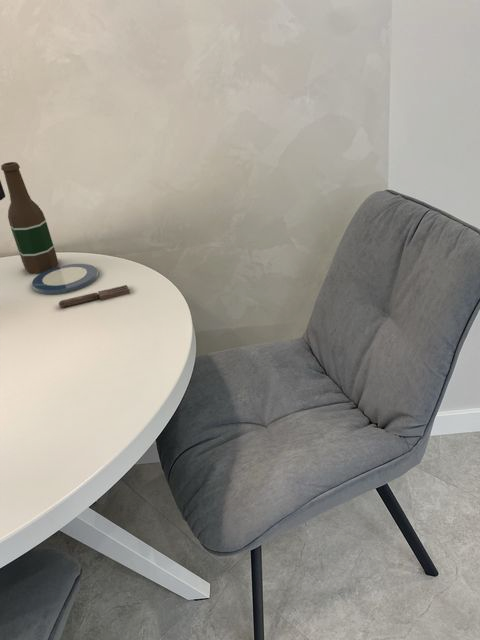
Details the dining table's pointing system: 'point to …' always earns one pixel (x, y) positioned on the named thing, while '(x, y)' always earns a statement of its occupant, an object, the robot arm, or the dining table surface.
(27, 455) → the dining table surface
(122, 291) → the brown wooden dowel
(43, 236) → the beer bottle
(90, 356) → the dining table surface
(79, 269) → the plate
